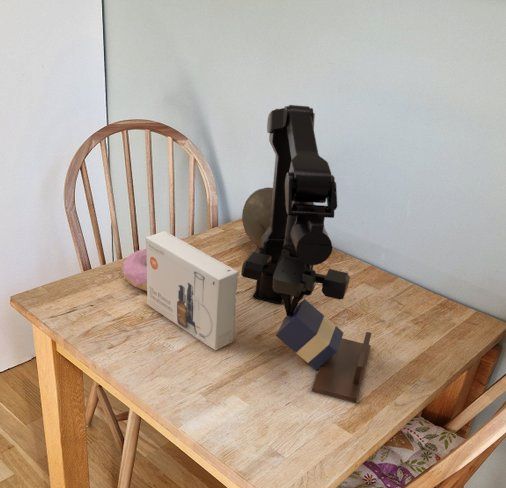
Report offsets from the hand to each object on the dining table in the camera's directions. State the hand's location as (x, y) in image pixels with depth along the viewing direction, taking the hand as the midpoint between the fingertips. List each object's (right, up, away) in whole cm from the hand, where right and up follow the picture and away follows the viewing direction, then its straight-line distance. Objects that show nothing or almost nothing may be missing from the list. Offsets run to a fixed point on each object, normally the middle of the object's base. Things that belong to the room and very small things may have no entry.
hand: (289, 315), depth 114 cm
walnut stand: (+10, -10, +1) cm, 14 cm away
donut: (-28, +8, +23) cm, 38 cm away
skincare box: (-20, -2, +9) cm, 22 cm away
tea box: (+4, -4, +1) cm, 5 cm away
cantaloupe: (-4, +18, +44) cm, 48 cm away
